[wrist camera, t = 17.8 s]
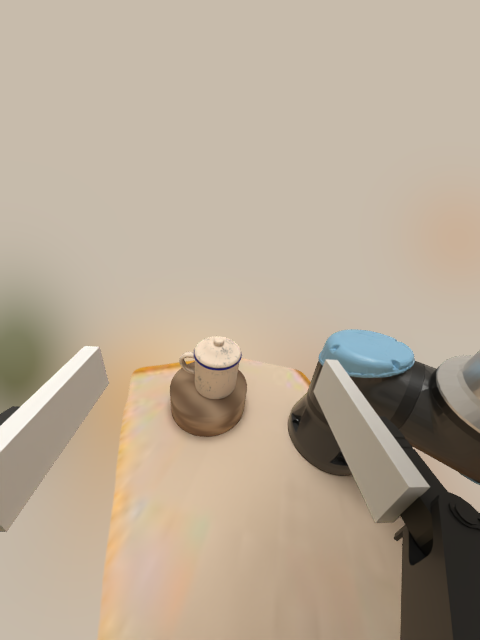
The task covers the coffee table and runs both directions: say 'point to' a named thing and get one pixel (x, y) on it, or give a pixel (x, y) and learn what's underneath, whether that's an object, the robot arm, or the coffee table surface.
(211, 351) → the teacup with lid
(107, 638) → the coffee table surface
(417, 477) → the robot arm
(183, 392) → the walnut riser
